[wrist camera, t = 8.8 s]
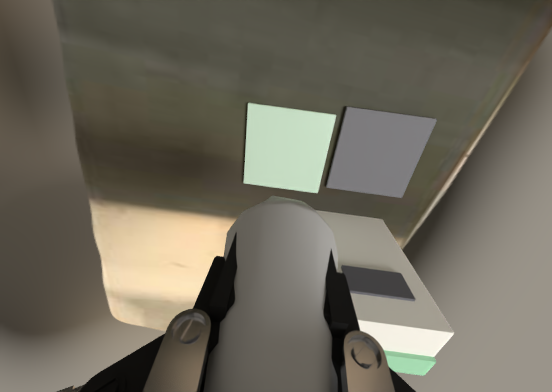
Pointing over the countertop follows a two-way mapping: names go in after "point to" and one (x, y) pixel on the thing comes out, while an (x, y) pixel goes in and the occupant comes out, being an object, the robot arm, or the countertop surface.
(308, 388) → the salt shaker
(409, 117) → the grey pad
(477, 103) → the countertop surface
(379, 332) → the block
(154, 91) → the countertop surface
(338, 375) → the robot arm
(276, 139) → the green pad
